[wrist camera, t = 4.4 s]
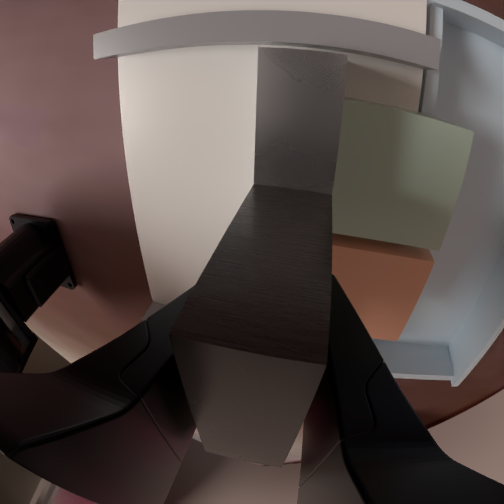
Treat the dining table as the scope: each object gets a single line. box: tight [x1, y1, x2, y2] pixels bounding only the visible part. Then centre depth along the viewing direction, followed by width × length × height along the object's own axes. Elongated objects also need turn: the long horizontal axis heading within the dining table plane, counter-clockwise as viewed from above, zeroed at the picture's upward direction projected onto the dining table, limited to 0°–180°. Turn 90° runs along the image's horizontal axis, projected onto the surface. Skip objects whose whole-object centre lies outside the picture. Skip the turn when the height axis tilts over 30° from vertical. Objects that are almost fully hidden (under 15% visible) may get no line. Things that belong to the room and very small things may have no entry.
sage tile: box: [332, 97, 474, 251], centre depth 9 cm, size 4×4×1 cm
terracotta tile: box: [332, 233, 435, 341], centre depth 12 cm, size 4×4×1 cm
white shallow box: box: [93, 0, 441, 322], centre depth 12 cm, size 11×18×4 cm, turn 178°
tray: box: [372, 0, 504, 386], centre depth 11 cm, size 8×19×4 cm, turn 178°
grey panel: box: [168, 47, 348, 467], centre depth 8 cm, size 2×12×8 cm, turn 178°
